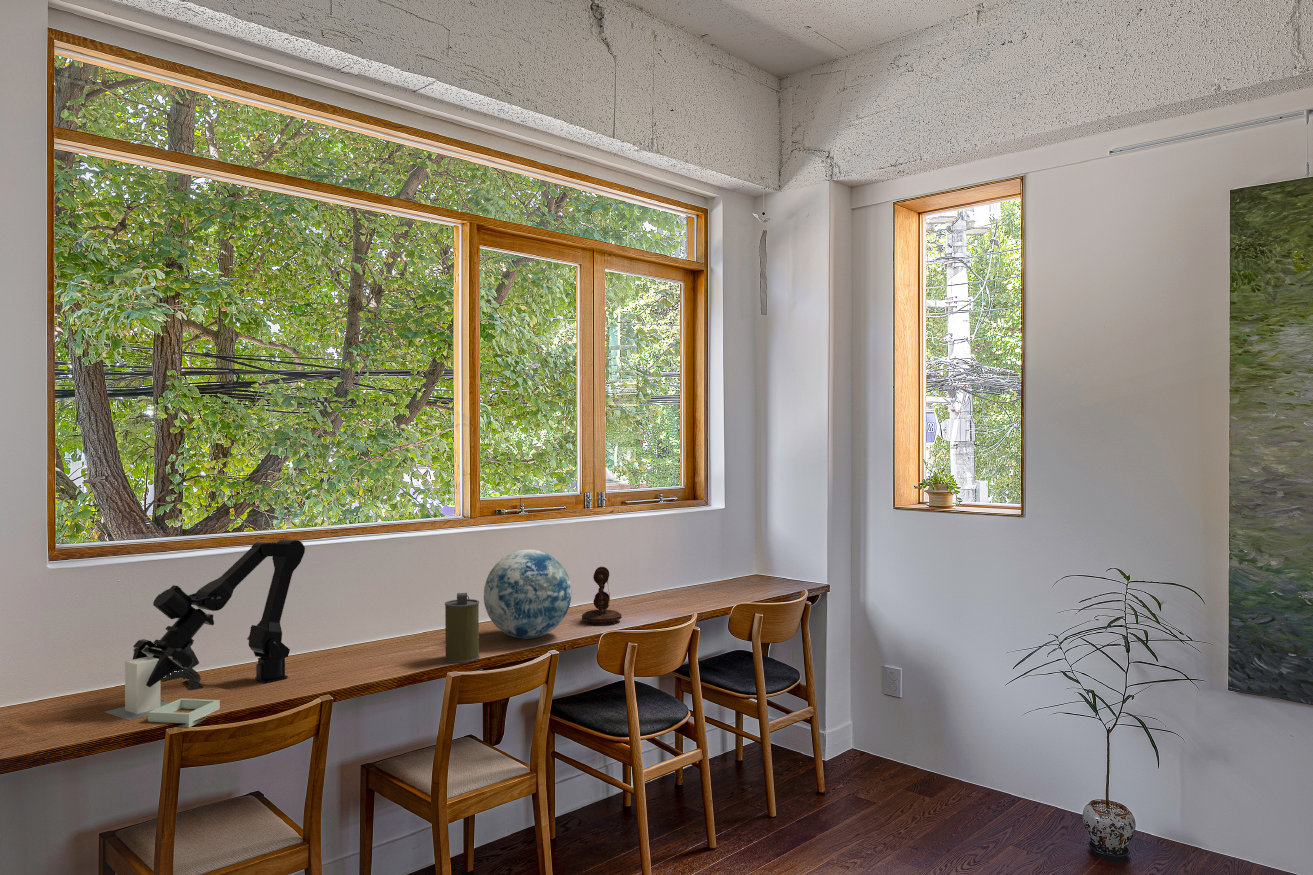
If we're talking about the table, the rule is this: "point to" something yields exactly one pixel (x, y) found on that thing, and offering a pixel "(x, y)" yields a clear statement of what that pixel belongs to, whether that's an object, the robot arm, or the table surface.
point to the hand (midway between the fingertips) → (137, 683)
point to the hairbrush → (187, 675)
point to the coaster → (129, 715)
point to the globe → (527, 594)
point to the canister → (462, 629)
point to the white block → (141, 686)
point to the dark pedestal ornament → (601, 601)
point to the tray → (170, 716)
